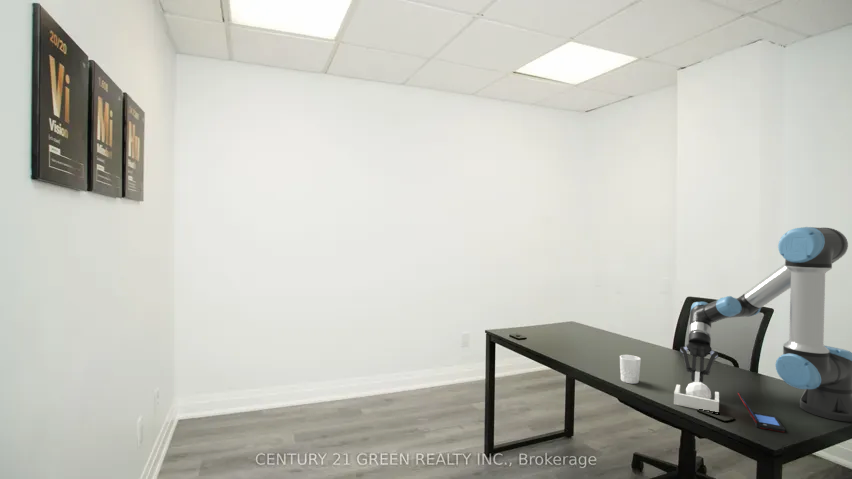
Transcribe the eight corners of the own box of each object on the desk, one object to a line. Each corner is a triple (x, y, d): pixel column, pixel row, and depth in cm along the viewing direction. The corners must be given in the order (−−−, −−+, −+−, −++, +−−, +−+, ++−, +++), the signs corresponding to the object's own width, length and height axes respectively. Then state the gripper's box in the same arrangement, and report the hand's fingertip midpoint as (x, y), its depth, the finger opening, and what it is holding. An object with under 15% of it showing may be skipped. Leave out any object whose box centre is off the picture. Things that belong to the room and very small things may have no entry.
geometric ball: (703, 410, 154) (720, 396, 151) (692, 406, 150) (709, 392, 147) (688, 393, 160) (703, 379, 157) (677, 389, 156) (692, 375, 154)
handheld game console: (786, 434, 131) (787, 410, 131) (743, 426, 136) (744, 403, 136) (775, 418, 142) (776, 396, 142) (736, 411, 147) (737, 390, 147)
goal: (676, 394, 162) (676, 384, 162) (718, 402, 154) (718, 392, 154) (673, 404, 152) (674, 393, 152) (718, 413, 145) (718, 402, 145)
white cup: (642, 385, 171) (643, 360, 171) (622, 383, 173) (622, 359, 173) (636, 378, 179) (637, 355, 179) (617, 377, 181) (617, 354, 180)
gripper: (718, 343, 170) (717, 397, 156) (681, 338, 177) (677, 389, 164) (719, 333, 165) (717, 388, 152) (680, 328, 173) (676, 380, 159)
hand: (696, 388), depth 158 cm, fingers closed
